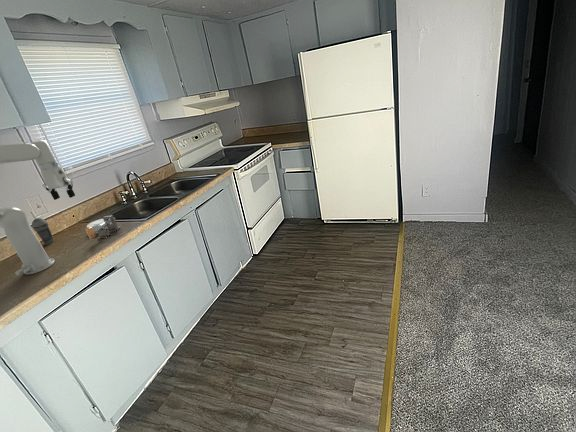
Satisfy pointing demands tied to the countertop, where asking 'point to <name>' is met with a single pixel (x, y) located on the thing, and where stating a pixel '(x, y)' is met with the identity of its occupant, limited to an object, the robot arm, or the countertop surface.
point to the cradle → (102, 233)
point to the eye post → (111, 224)
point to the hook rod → (96, 229)
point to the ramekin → (96, 224)
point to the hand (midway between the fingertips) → (64, 197)
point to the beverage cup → (42, 230)
